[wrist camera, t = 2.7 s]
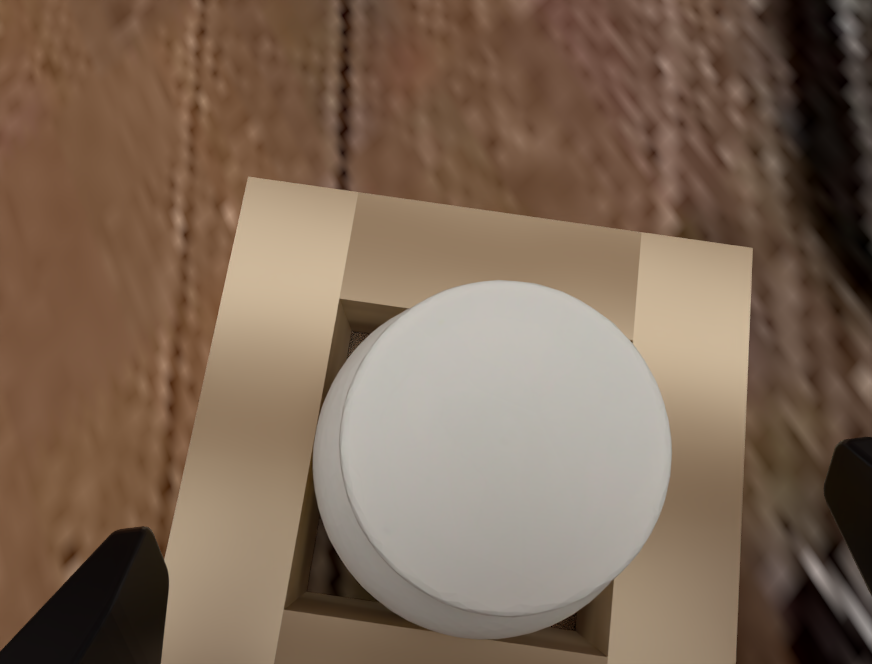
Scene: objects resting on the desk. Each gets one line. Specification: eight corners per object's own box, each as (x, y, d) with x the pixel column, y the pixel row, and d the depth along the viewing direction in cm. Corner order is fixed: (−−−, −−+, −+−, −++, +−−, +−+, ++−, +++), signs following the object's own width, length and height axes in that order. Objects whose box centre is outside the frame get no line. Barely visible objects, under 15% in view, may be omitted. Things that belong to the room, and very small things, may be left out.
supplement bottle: (418, 633, 17) (419, 793, 8) (309, 435, 18) (193, 361, 9) (609, 513, 18) (821, 524, 8) (494, 329, 19) (571, 155, 9)
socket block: (673, 763, 16) (728, 819, 14) (178, 690, 17) (126, 730, 14) (701, 287, 19) (752, 248, 16) (273, 226, 19) (248, 176, 16)
